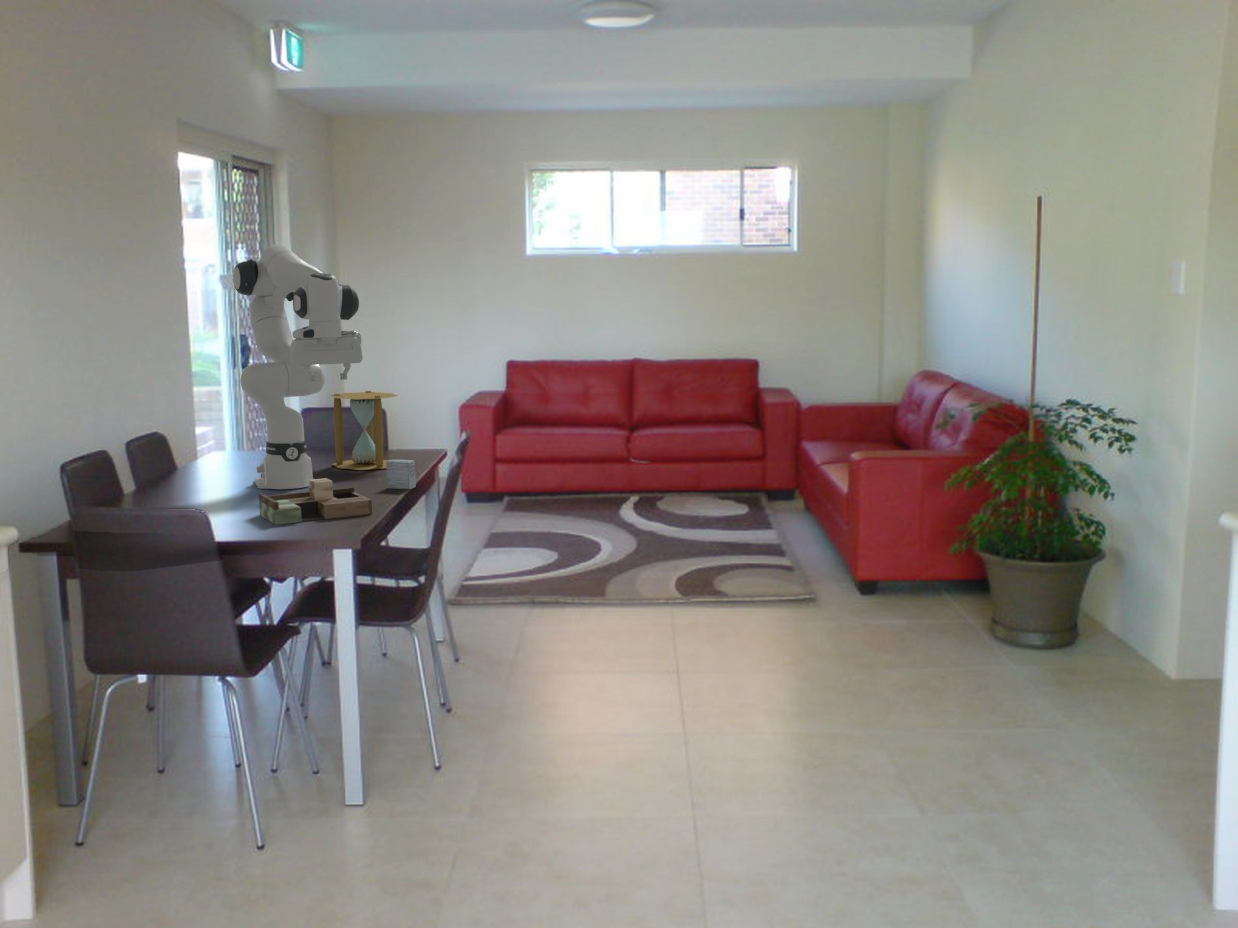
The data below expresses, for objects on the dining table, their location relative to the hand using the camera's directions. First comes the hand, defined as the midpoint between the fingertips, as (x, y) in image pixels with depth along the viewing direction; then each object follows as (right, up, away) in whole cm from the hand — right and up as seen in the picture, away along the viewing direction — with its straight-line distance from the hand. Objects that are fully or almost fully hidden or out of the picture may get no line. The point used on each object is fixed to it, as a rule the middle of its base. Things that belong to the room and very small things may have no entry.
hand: (327, 380), depth 337 cm
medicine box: (+15, -32, +33) cm, 48 cm away
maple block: (-1, -33, -4) cm, 34 cm away
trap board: (-2, -38, -7) cm, 38 cm away
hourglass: (-5, -25, +76) cm, 80 cm away
